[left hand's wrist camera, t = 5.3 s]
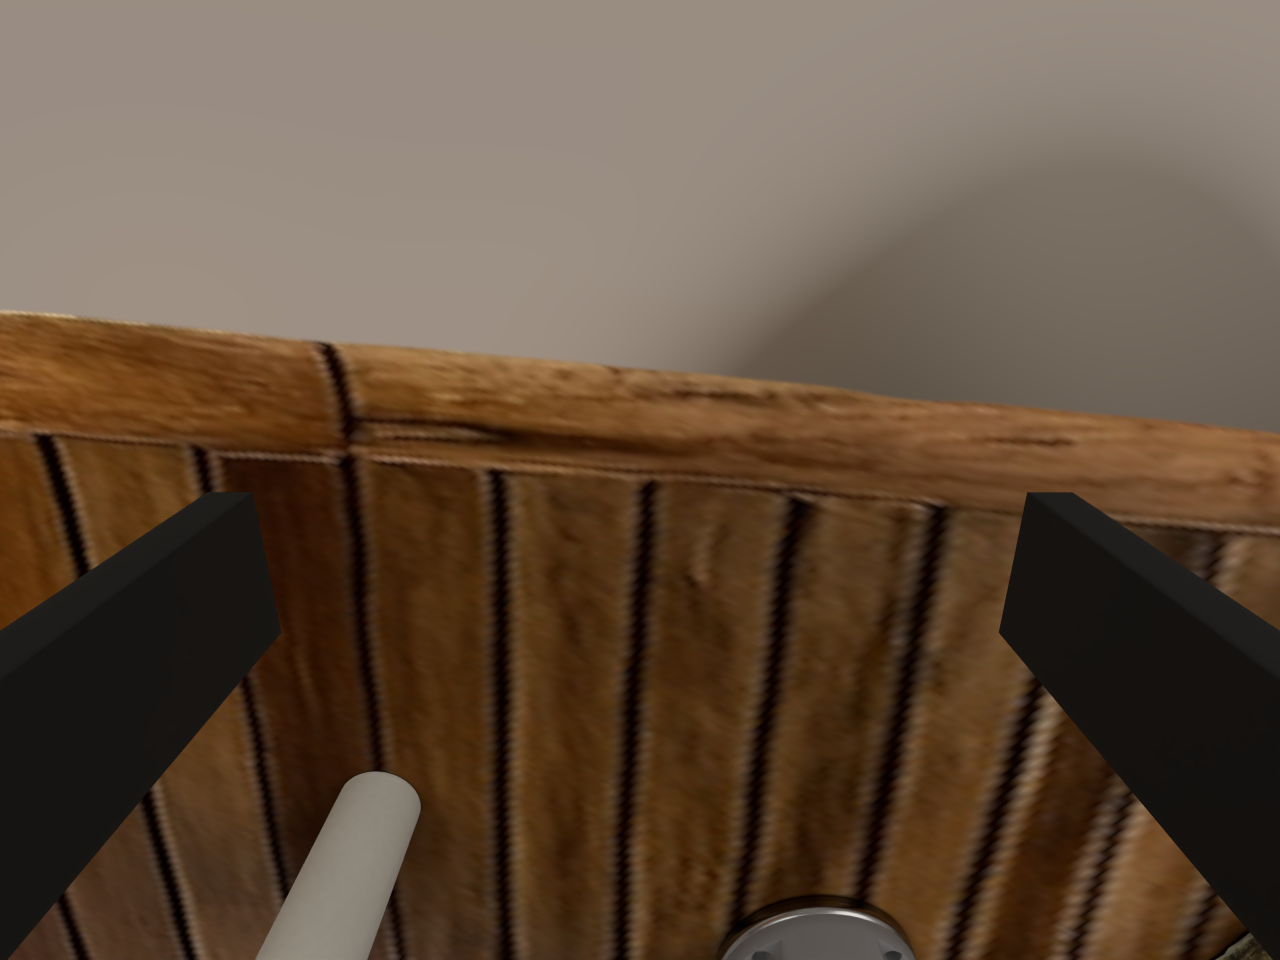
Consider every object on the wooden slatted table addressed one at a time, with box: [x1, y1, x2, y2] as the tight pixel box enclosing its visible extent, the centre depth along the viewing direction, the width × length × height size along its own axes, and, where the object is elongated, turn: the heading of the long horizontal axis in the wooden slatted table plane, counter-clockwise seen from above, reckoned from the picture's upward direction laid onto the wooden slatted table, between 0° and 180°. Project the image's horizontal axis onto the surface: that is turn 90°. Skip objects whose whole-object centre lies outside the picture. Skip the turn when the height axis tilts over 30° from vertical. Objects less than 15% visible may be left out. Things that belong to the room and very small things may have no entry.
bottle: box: [255, 772, 421, 960], centre depth 41 cm, size 6×6×19 cm
